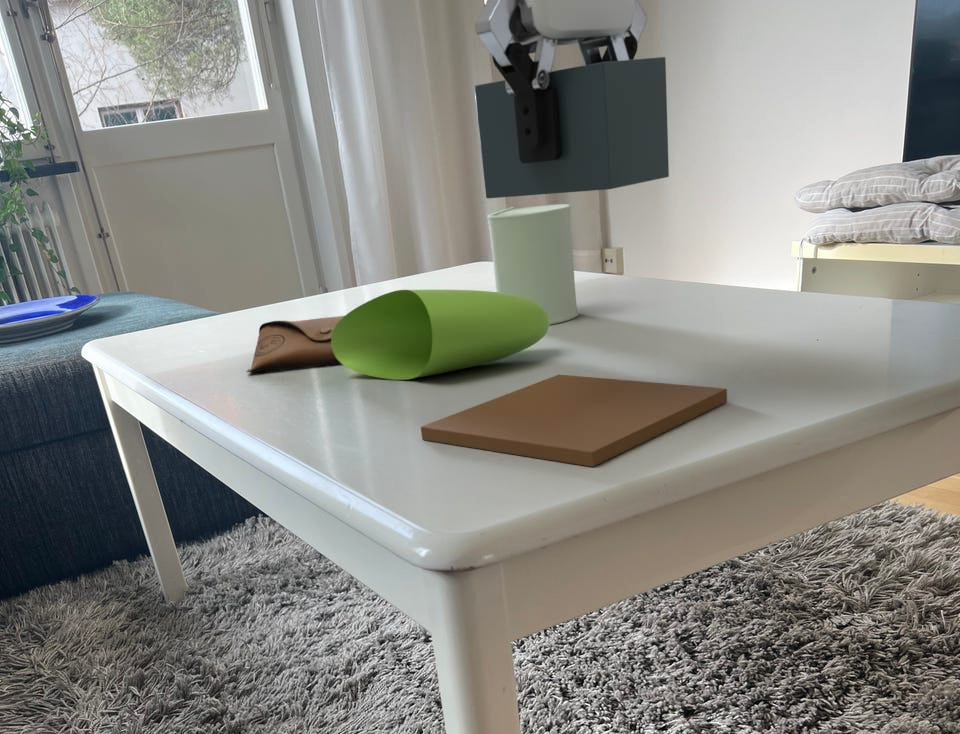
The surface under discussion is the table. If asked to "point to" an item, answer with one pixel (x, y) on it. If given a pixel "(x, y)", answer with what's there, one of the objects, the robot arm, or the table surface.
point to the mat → (575, 418)
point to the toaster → (582, 131)
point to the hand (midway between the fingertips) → (575, 152)
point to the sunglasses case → (295, 344)
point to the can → (535, 257)
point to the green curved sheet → (435, 332)
